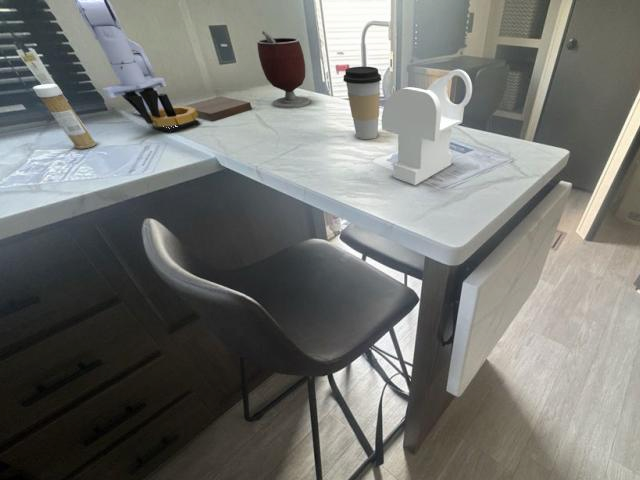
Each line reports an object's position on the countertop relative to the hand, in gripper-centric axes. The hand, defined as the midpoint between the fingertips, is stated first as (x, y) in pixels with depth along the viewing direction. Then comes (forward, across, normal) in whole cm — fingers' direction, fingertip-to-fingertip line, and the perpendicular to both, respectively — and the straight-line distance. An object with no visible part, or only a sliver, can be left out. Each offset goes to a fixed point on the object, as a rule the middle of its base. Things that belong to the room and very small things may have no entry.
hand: (154, 121), depth 88 cm
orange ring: (+1, +5, 0) cm, 5 cm away
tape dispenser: (+3, +15, -79) cm, 81 cm away
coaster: (+2, +21, +2) cm, 22 cm away
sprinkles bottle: (+3, -17, +5) cm, 18 cm away
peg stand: (+2, +5, 0) cm, 6 cm away
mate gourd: (+3, +40, -12) cm, 42 cm away
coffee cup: (+3, +27, -54) cm, 61 cm away
